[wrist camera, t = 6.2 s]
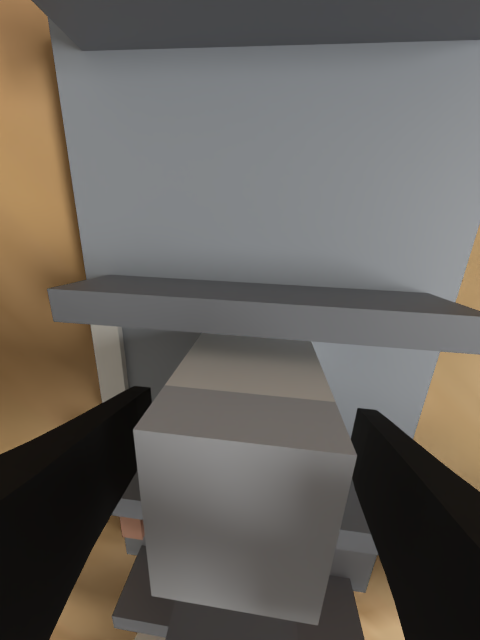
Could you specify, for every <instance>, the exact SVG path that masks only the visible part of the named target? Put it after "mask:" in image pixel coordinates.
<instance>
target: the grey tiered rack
mask: <svg viewBox="0 0 480 640" xmlns="http://www.w3.org/2000/svg"><path fill="white" fill-rule="evenodd" d="M32 1H33V2H34V3H35V4H36V5H37V6H38V7H39V8H40V9H41V10H42V11H43V12H44V13H45V14H46V15H47V16H48V22H49V28H50V35H51V42H52V49H53V56H54V62H55V69H56V76H57V83H58V89H59V96H60V103H61V110H62V117H63V123H64V130H65V137H66V144H67V150H68V157H69V164H70V171H71V178H72V184H73V191H74V198H75V205H76V211H77V218H78V225H79V232H80V239H81V245H82V252H83V259H84V266H85V272H86V279H87V280H83V281H79V282H75V283H70V284H66V285H61V286H57V287H53V288H48V289H47V291H48V296H49V301H50V306H51V311H52V316H53V321H54V322H65V323H78V324H90V325H91V332H92V339H93V345H94V352H95V358H96V365H97V372H98V378H99V385H100V391H101V398H102V403H103V402H105V401H107V400H109V399H110V398H112V397H114V396H116V395H118V394H119V393H121V392H123V391H125V390H127V389H129V388H131V387H133V386H141V387H151V398H152V402H153V401H154V399H155V398H156V397H157V395H158V394H159V392H160V391H161V390H162V388H163V387H164V385H165V384H166V383H167V381H168V380H169V378H170V377H171V376H172V374H173V373H174V371H175V370H176V369H177V367H178V366H179V364H180V363H181V362H182V360H183V359H184V357H185V356H186V355H187V353H188V352H189V350H190V349H191V348H192V346H193V345H194V343H195V342H196V340H197V339H198V338H199V336H200V335H201V333H208V334H221V335H234V336H247V337H260V338H273V339H286V340H299V341H311V342H312V345H313V347H314V350H315V352H316V355H317V357H318V360H319V362H320V365H321V367H322V370H323V372H324V375H325V377H326V380H327V382H328V384H329V387H330V389H331V392H332V394H333V397H334V399H335V402H336V404H337V407H338V409H339V412H340V414H341V417H342V419H343V422H344V424H345V427H346V429H347V432H348V434H349V437H350V439H351V435H352V431H353V426H354V421H355V417H356V412H357V408H363V409H373V410H377V411H379V412H380V413H381V414H383V415H384V416H385V417H387V418H388V419H389V420H390V421H391V422H393V423H394V424H395V425H396V426H398V427H399V428H400V429H401V430H402V431H404V432H405V433H406V434H407V435H408V436H410V437H411V438H412V439H413V437H414V434H415V431H416V428H417V424H418V421H419V418H420V415H421V411H422V408H423V405H424V402H425V398H426V395H427V392H428V389H429V385H430V382H431V379H432V376H433V373H434V369H435V366H436V363H437V360H438V356H439V353H440V351H441V352H454V353H467V354H480V311H478V310H475V309H472V308H469V307H466V306H464V305H461V304H458V303H455V301H456V298H457V295H458V292H459V289H460V285H461V282H462V279H463V276H464V272H465V269H466V266H467V263H468V259H469V256H470V253H471V250H472V247H473V243H474V240H475V237H476V234H477V230H478V227H479V224H480V0H32ZM112 515H113V516H119V517H120V524H121V530H122V537H125V543H126V550H127V554H131V555H137V557H136V559H135V562H134V564H133V567H132V569H131V571H130V574H129V576H128V579H127V581H126V583H125V586H124V588H123V591H122V593H121V595H120V598H119V600H118V603H117V605H116V607H115V610H114V612H113V615H112V619H113V624H114V628H117V629H122V630H127V631H133V632H138V633H143V634H148V635H153V636H159V637H164V638H166V635H167V631H168V627H169V623H170V619H171V615H172V612H173V608H174V604H175V600H172V599H166V598H161V597H155V596H151V587H150V578H149V569H148V560H147V551H146V542H145V533H144V524H143V515H142V506H141V497H140V488H139V479H138V470H137V472H136V474H135V475H134V477H133V479H132V481H131V482H130V484H129V486H128V487H127V489H126V491H125V493H124V494H123V496H122V498H121V499H120V501H119V503H118V504H117V506H116V508H115V510H114V511H113V513H112ZM377 555H378V552H377V549H376V547H375V544H374V541H373V538H372V536H371V533H370V530H369V527H368V525H367V522H366V519H365V516H364V514H363V511H362V508H361V505H360V502H359V500H358V497H357V494H356V491H355V488H354V484H353V480H351V484H350V489H349V493H348V497H347V502H346V506H345V510H344V514H343V519H342V523H341V527H340V532H339V536H338V540H337V545H336V549H335V553H334V558H333V562H332V566H331V571H330V575H329V579H328V584H327V588H326V592H325V597H324V601H323V605H322V610H321V614H320V618H319V623H318V625H312V624H307V623H301V622H297V635H298V640H364V636H363V631H362V627H361V623H360V619H359V614H358V610H357V606H356V602H355V597H354V593H353V591H358V592H364V593H365V592H366V589H367V586H368V583H369V579H370V576H371V573H372V570H373V567H374V563H375V560H376V557H377Z"/></svg>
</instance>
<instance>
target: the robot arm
mask: <svg viewBox="0 0 480 640" xmlns="http://www.w3.org/2000/svg"><path fill="white" fill-rule="evenodd" d="M151 404H152V398H151V387H141V386H133V387H131V388H129V389H127V390H125V391H123V392H121V393H119V394H118V395H116V396H114V397H112V398H110V399H109V400H107V401H105V402H103V403H101V404H100V405H98V406H96V407H94V408H92V409H91V410H89V411H87V412H85V413H83V414H82V415H80V416H78V417H76V418H74V419H72V420H70V421H68V422H66V423H65V424H63V425H61V426H59V427H57V428H55V429H53V430H51V431H49V432H47V433H45V434H43V435H41V436H39V437H37V438H35V439H33V440H31V441H29V442H27V443H25V444H23V445H20V446H18V447H16V448H14V449H12V450H9V451H7V452H5V453H2V454H0V640H49V639H50V637H51V634H52V632H53V630H54V628H55V626H56V624H57V621H58V619H59V617H60V615H61V613H62V611H63V609H64V606H65V604H66V602H67V600H68V598H69V596H70V593H71V591H72V589H73V587H74V585H75V583H76V581H77V579H78V577H79V575H80V573H81V571H82V569H83V567H84V565H85V562H86V560H87V558H88V556H89V554H90V552H91V550H92V548H93V547H94V545H95V543H96V541H97V539H98V537H99V535H100V534H101V532H102V530H103V528H104V527H105V525H106V523H107V522H108V520H109V518H110V516H111V515H112V513H113V511H114V510H115V508H116V506H117V504H118V503H119V501H120V499H121V498H122V496H123V494H124V493H125V491H126V489H127V487H128V486H129V484H130V482H131V481H132V479H133V477H134V475H135V474H136V472H137V461H136V452H135V443H134V434H133V429H134V427H135V426H136V425H137V423H138V422H139V420H140V419H141V418H142V416H143V415H144V413H145V412H146V411H147V409H148V408H149V406H150V405H151ZM351 442H352V444H353V447H354V449H355V452H356V454H357V458H356V463H355V467H354V471H353V476H352V480H353V484H354V488H355V491H356V494H357V497H358V500H359V502H360V505H361V508H362V511H363V514H364V516H365V519H366V522H367V525H368V527H369V530H370V533H371V536H372V538H373V541H374V544H375V547H376V549H377V552H378V555H379V558H380V560H381V563H382V566H383V569H384V571H385V574H386V577H387V580H388V583H389V586H390V589H391V592H392V595H393V598H394V602H395V605H396V609H397V612H398V616H399V619H400V623H401V626H402V630H403V633H404V637H405V640H480V492H479V491H478V490H477V489H475V488H474V487H473V486H471V485H470V484H469V483H467V482H466V481H465V480H463V479H462V478H461V477H459V476H458V475H457V474H455V473H454V472H453V471H452V470H450V469H449V468H448V467H446V466H445V465H444V464H443V463H441V462H440V461H439V460H438V459H436V458H435V457H434V456H433V455H431V454H430V453H429V452H428V451H426V450H425V449H424V448H423V447H422V446H420V445H419V444H418V443H417V442H416V441H414V440H413V439H412V438H411V437H410V436H408V435H407V434H406V433H405V432H404V431H402V430H401V429H400V428H399V427H398V426H396V425H395V424H394V423H393V422H391V421H390V420H389V419H388V418H387V417H385V416H384V415H383V414H381V413H380V412H379V411H377V410H373V409H363V408H357V412H356V417H355V421H354V426H353V431H352V435H351Z"/></svg>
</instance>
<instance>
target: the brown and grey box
mask: <svg viewBox="0 0 480 640" xmlns="http://www.w3.org/2000/svg"><path fill="white" fill-rule="evenodd" d="M165 640H298V635H297V622H295V621H290V620H284V619H279V618H273V617H267V616H262V615H256V614H251V613H245V612H239V611H234V610H228V609H222V608H217V607H211V606H206V605H200V604H194V603H189V602H183V601H177V600H175V604H174V608H173V612H172V615H171V619H170V623H169V627H168V631H167V635H166V638H165Z"/></svg>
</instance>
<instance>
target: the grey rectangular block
mask: <svg viewBox="0 0 480 640" xmlns="http://www.w3.org/2000/svg"><path fill="white" fill-rule="evenodd" d="M133 434H134V443H135V452H136V461H137V470H138V479H139V488H140V497H141V506H142V515H143V524H144V533H145V542H146V551H147V560H148V569H149V578H150V587H151V596H155V597H161V598H166V599H172V600H177V601H183V602H189V603H194V604H200V605H206V606H211V607H217V608H222V609H228V610H234V611H239V612H245V613H251V614H256V615H262V616H267V617H273V618H279V619H284V620H290V621H295V622H301V623H307V624H312V625H318V623H319V618H320V614H321V610H322V605H323V601H324V597H325V592H326V588H327V584H328V579H329V575H330V571H331V566H332V562H333V558H334V553H335V549H336V545H337V540H338V536H339V532H340V527H341V523H342V519H343V514H344V510H345V506H346V502H347V497H348V493H349V489H350V484H351V480H352V476H353V471H354V467H355V463H356V458H357V454H356V452H355V449H354V447H353V444H352V442H351V439H350V437H349V434H348V432H347V429H346V427H345V424H344V422H343V419H342V417H341V414H340V412H339V409H338V407H337V404H336V402H335V399H334V397H333V394H332V392H331V389H330V387H329V384H328V382H327V380H326V377H325V375H324V372H323V370H322V367H321V365H320V362H319V360H318V357H317V355H316V352H315V350H314V347H313V345H312V342H311V341H299V340H286V339H273V338H260V337H247V336H234V335H221V334H208V333H201V335H200V336H199V338H198V339H197V340H196V342H195V343H194V345H193V346H192V348H191V349H190V350H189V352H188V353H187V355H186V356H185V357H184V359H183V360H182V362H181V363H180V364H179V366H178V367H177V369H176V370H175V371H174V373H173V374H172V376H171V377H170V378H169V380H168V381H167V383H166V384H165V385H164V387H163V388H162V390H161V391H160V392H159V394H158V395H157V397H156V398H155V399H154V401H153V402H152V404H151V405H150V406H149V408H148V409H147V411H146V412H145V413H144V415H143V416H142V418H141V419H140V420H139V422H138V423H137V425H136V426H135V427H134V429H133Z"/></svg>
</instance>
